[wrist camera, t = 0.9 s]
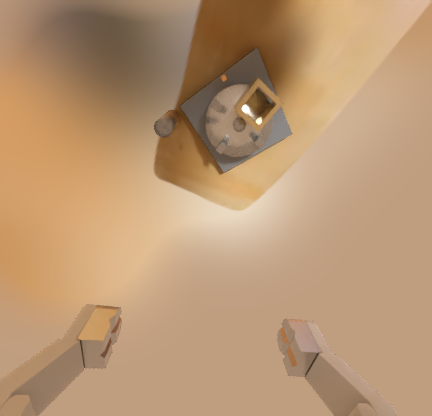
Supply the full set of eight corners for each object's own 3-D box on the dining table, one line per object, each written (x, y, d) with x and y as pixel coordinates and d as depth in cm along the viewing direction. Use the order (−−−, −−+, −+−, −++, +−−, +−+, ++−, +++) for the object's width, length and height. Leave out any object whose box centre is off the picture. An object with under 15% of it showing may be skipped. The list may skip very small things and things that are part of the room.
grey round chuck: (240, 163, 46) (243, 175, 41) (193, 126, 42) (190, 135, 36) (287, 110, 40) (297, 117, 34) (237, 61, 35) (241, 60, 30)
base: (256, 48, 35) (259, 46, 32) (290, 131, 44) (295, 137, 40) (180, 105, 41) (177, 108, 38) (223, 170, 49) (224, 177, 46)
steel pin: (173, 107, 41) (163, 115, 34) (182, 120, 43) (174, 131, 35) (162, 115, 42) (150, 125, 35) (171, 128, 44) (162, 140, 36)
